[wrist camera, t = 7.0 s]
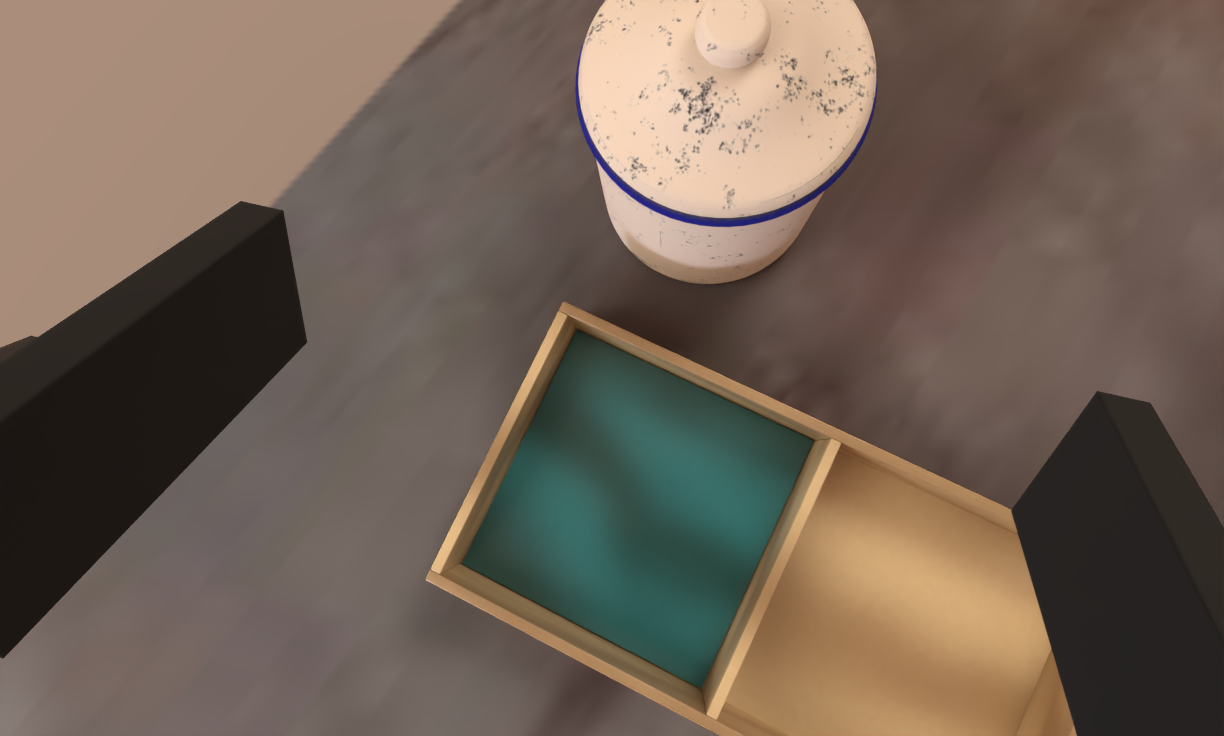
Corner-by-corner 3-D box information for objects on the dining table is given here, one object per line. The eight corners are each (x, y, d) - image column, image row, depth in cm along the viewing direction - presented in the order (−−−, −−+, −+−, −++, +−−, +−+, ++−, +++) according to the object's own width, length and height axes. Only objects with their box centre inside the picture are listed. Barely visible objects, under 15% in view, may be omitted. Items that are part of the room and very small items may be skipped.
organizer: (574, 318, 30) (563, 300, 27) (1089, 559, 27) (1149, 573, 24) (452, 565, 29) (424, 579, 26) (974, 839, 26) (1019, 894, 23)
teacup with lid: (854, 238, 29) (978, 95, 18) (651, 327, 30) (644, 242, 18) (731, -5, 31) (771, -278, 20) (540, 80, 31) (469, -141, 20)
